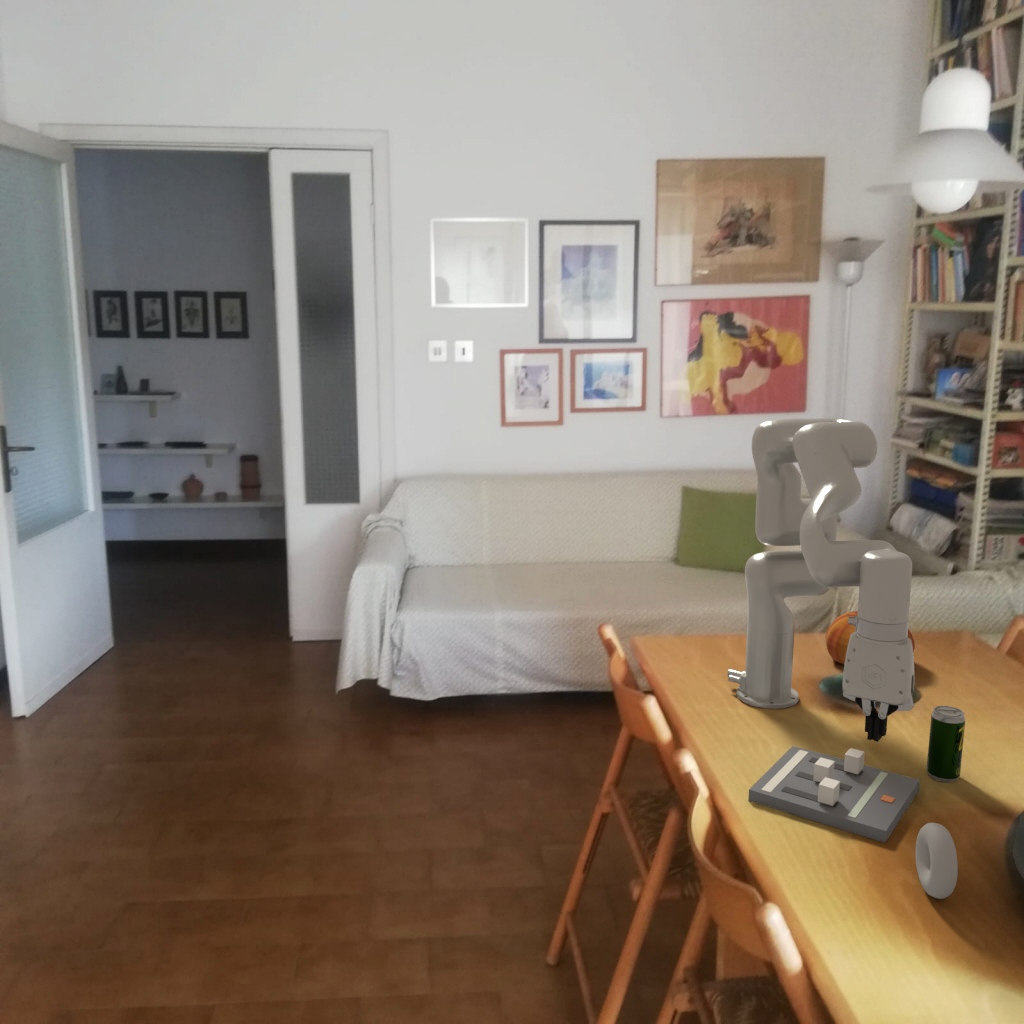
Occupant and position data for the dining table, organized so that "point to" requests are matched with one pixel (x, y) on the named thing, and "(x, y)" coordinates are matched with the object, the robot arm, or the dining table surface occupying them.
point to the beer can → (945, 743)
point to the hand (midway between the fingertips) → (875, 737)
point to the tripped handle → (823, 769)
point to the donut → (936, 860)
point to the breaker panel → (837, 817)
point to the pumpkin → (844, 637)
